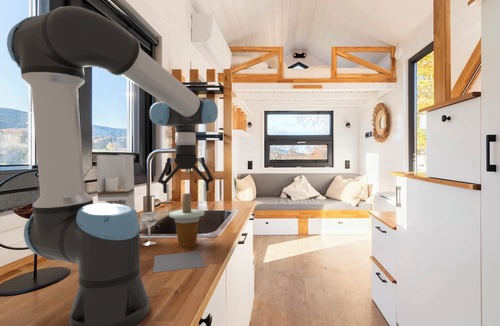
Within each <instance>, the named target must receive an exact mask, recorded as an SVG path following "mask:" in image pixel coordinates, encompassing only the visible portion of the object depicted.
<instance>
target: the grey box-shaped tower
mask: <svg viewBox="0 0 500 326" xmlns="http://www.w3.org/2000/svg"><path fill="white" fill-rule="evenodd" d="M134 161H135V160H134V154H117V155H116V154H113V155H111V154H110V155H109V154H108V155H107V154H96V178H97V185H96V186H97V201H98V202H104V203H109V204H122V205H127V206H130V207H132V208H133V209H135V205H136V204H135V170H134V168H135V167H134V166H135V165H134V164H135V163H134ZM135 210H136V209H135Z"/></svg>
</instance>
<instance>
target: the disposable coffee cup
mask: <svg viewBox="0 0 500 326" xmlns="http://www.w3.org/2000/svg"><path fill="white" fill-rule="evenodd" d="M200 219H201V216H200V217H196V218H187V219H177V218H173V220H174V223H175V227H176V228H175V229H176V235H177V244H178V247H179V248H183V249H188V248H193V247H195V246H196V245H197V238H198V229H199V221H200Z"/></svg>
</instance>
